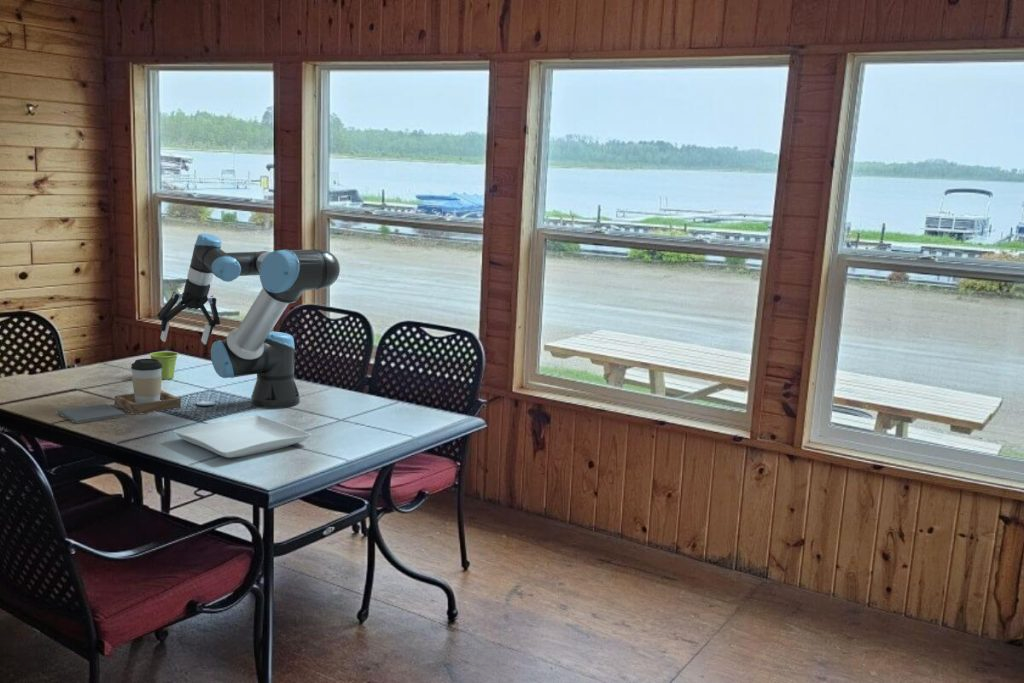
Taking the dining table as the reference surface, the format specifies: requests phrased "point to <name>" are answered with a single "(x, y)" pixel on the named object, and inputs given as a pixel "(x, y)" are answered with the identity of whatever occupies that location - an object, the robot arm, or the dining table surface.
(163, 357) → the plant pot
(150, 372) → the coffee cup
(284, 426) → the square plate
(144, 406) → the brown wooden tray
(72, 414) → the rubber mat
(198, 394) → the dining table surface
